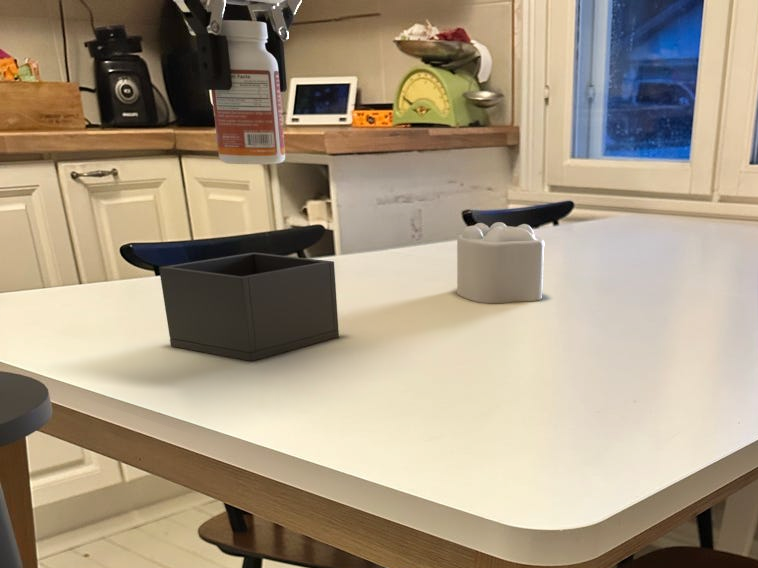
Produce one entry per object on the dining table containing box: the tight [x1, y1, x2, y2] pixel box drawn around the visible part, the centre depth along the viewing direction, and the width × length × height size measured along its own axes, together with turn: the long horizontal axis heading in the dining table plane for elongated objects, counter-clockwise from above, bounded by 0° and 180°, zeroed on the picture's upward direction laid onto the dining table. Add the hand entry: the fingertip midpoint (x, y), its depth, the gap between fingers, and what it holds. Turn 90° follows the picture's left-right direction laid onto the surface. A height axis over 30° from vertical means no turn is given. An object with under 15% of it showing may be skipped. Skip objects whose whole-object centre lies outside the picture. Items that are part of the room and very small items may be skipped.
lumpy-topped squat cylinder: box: [456, 221, 545, 304], centre depth 123 cm, size 10×13×9 cm
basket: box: [158, 252, 340, 362], centre depth 97 cm, size 14×12×8 cm
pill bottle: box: [210, 19, 286, 165], centre depth 84 cm, size 6×6×11 cm
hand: (245, 88), depth 84 cm, fingers closed on pill bottle, 6 cm apart
